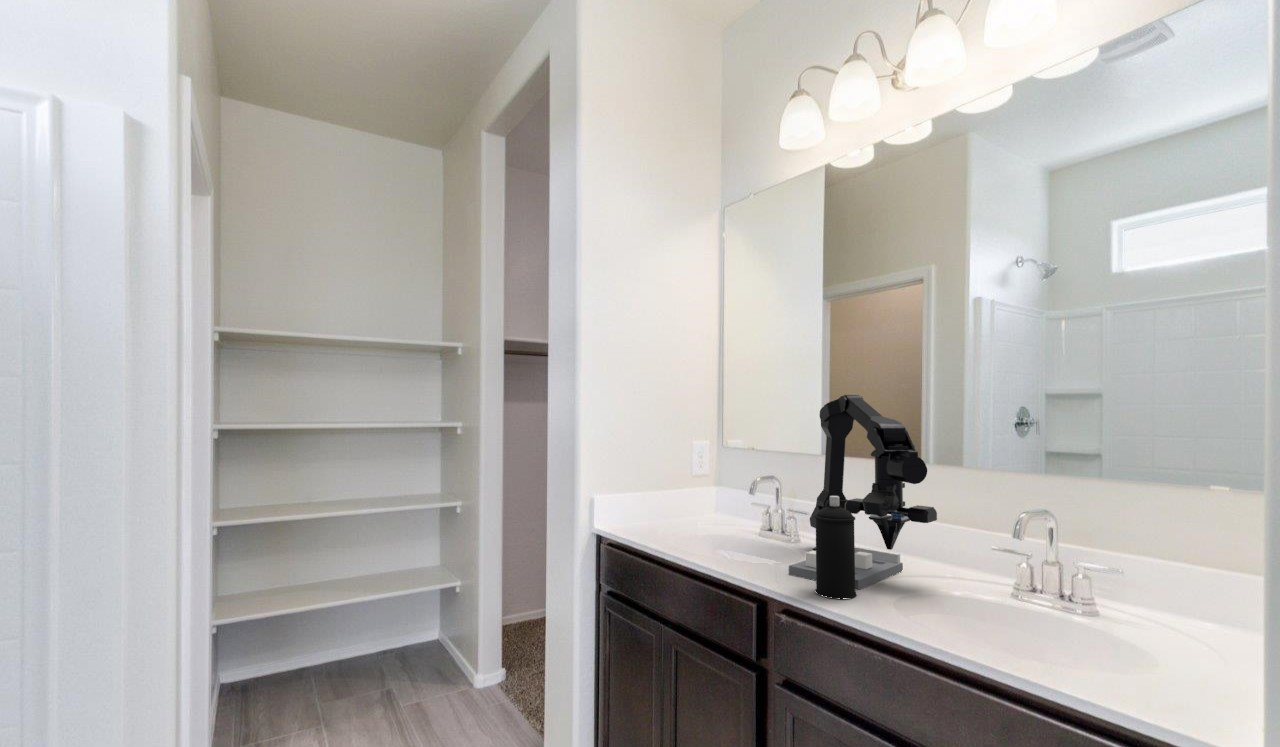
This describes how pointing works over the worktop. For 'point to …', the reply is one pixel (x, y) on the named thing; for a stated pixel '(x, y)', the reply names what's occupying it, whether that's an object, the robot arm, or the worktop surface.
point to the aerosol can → (835, 551)
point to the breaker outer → (811, 559)
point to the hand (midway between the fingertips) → (889, 549)
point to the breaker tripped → (863, 560)
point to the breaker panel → (880, 570)
